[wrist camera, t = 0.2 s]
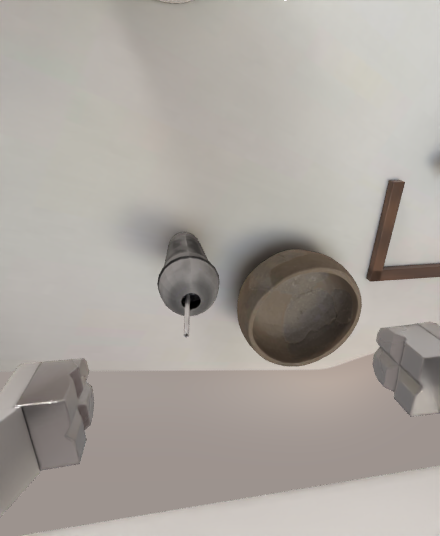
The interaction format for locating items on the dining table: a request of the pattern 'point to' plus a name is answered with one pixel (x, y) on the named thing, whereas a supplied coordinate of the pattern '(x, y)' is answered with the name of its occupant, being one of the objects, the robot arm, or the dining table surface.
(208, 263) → the beverage cup
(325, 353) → the bowl
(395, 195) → the frame
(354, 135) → the dining table surface
